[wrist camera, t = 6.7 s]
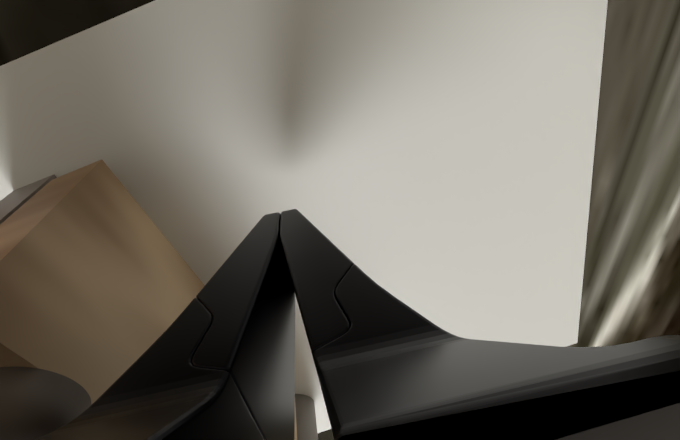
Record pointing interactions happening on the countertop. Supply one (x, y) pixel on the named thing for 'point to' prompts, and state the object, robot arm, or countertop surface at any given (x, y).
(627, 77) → the countertop surface
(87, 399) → the gate
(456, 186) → the white flat posted base
